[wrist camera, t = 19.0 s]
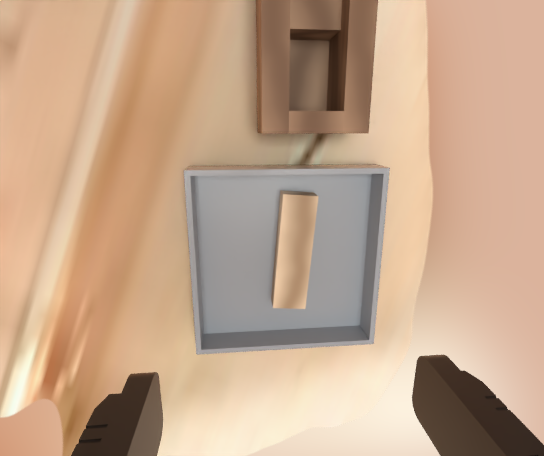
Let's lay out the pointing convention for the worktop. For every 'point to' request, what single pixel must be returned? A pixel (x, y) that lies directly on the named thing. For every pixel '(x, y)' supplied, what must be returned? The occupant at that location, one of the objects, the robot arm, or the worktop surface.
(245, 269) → the slate tray
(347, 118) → the walnut frame
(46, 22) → the worktop surface
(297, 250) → the maple bar
